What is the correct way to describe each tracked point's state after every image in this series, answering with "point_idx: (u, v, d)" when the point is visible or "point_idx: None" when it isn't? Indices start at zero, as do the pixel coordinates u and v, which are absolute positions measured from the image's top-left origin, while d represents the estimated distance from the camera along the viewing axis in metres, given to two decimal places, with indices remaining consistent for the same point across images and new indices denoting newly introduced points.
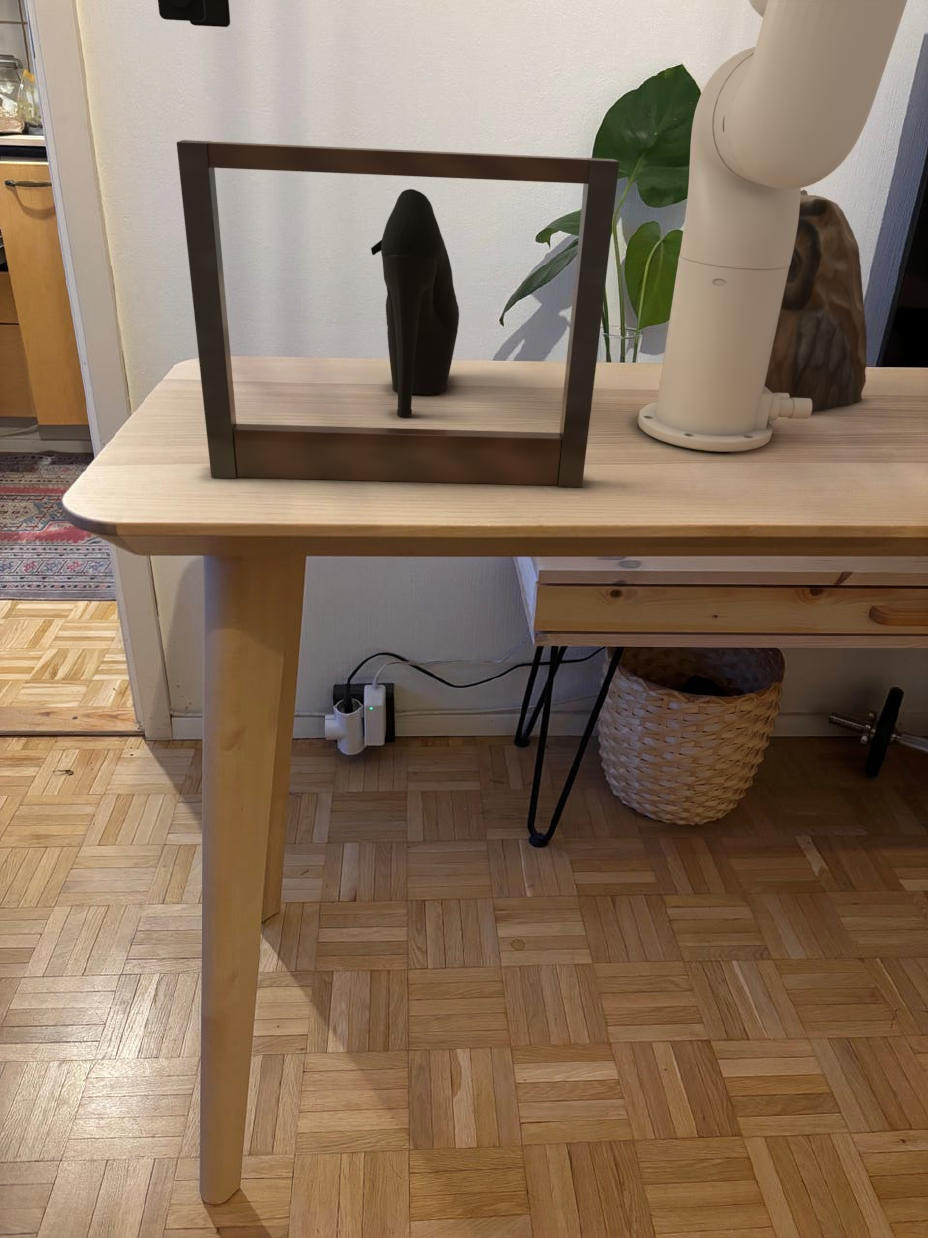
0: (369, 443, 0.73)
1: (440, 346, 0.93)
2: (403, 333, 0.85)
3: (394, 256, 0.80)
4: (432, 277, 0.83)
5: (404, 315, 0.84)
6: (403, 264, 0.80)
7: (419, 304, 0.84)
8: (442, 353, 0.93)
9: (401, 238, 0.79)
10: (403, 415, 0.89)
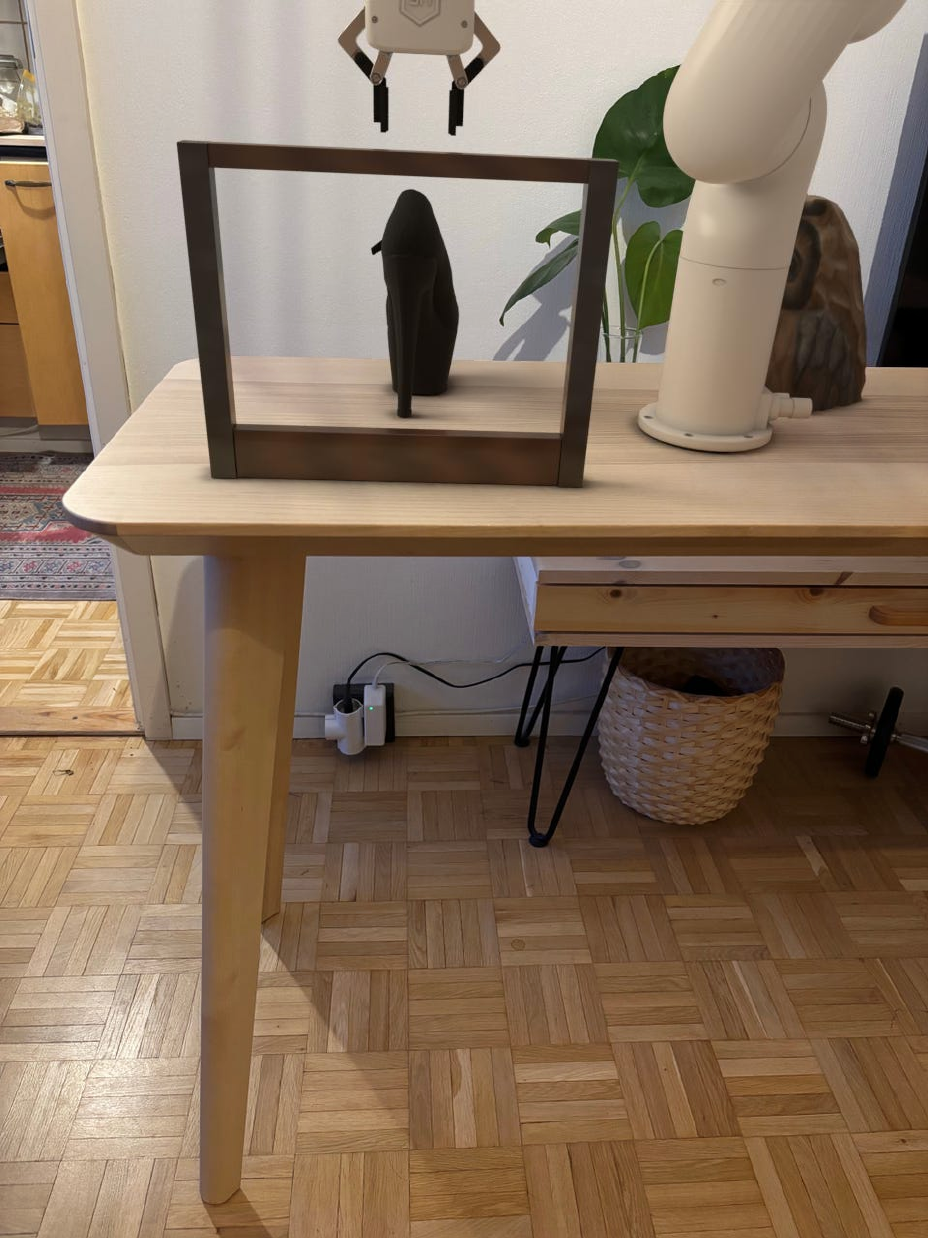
0: (369, 443, 0.73)
1: (440, 346, 0.93)
2: (403, 333, 0.85)
3: (394, 256, 0.80)
4: (432, 277, 0.83)
5: (404, 315, 0.84)
6: (403, 264, 0.80)
7: (419, 304, 0.84)
8: (442, 353, 0.93)
9: (401, 238, 0.79)
10: (403, 415, 0.89)
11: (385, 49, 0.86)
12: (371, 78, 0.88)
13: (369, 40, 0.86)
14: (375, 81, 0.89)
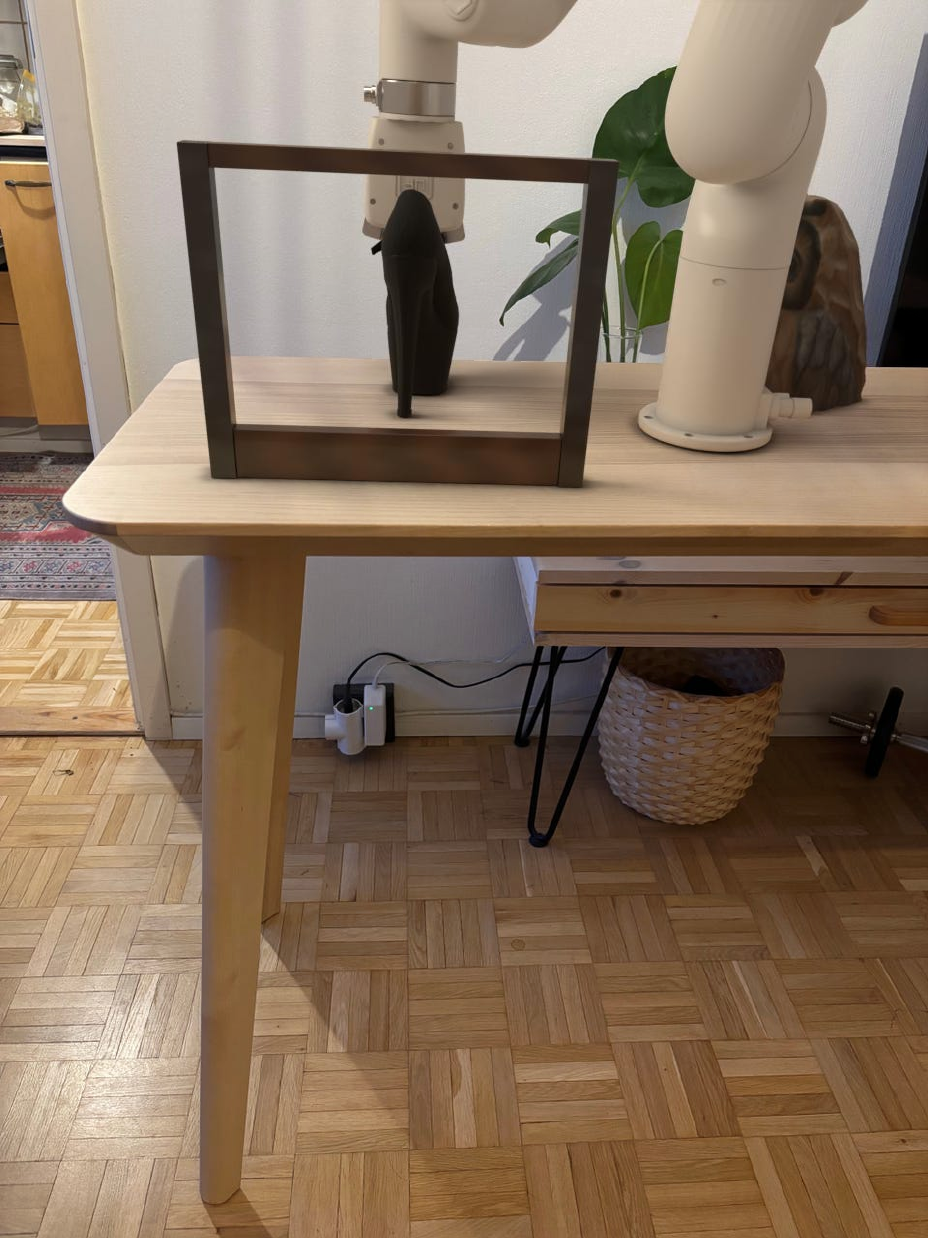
0: (369, 443, 0.73)
1: (440, 346, 0.93)
2: (403, 333, 0.85)
3: (394, 256, 0.80)
4: (432, 277, 0.83)
5: (404, 315, 0.84)
6: (403, 264, 0.80)
7: (419, 304, 0.84)
8: (442, 353, 0.93)
9: (401, 238, 0.79)
10: (403, 415, 0.89)
11: (382, 226, 0.94)
12: None
13: (367, 218, 0.93)
14: None
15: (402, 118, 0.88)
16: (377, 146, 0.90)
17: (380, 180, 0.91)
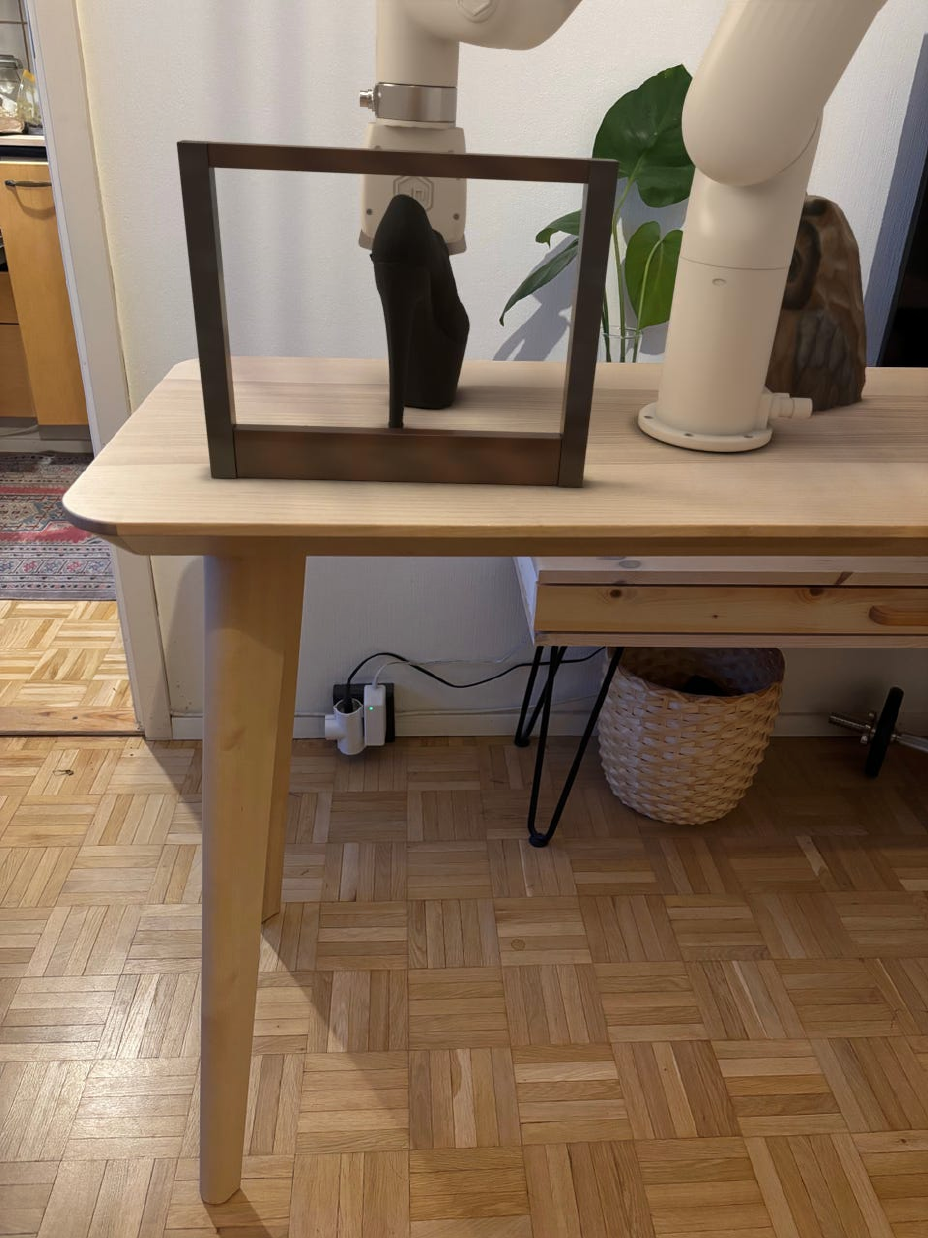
0: (369, 443, 0.73)
1: (442, 358, 0.89)
2: (393, 344, 0.81)
3: (381, 264, 0.77)
4: (424, 287, 0.79)
5: (393, 325, 0.80)
6: (390, 272, 0.77)
7: (410, 314, 0.80)
8: (445, 366, 0.89)
9: (387, 245, 0.75)
10: None
11: None
12: None
13: (363, 229, 0.88)
14: None
15: (400, 124, 0.83)
16: None
17: (377, 189, 0.86)
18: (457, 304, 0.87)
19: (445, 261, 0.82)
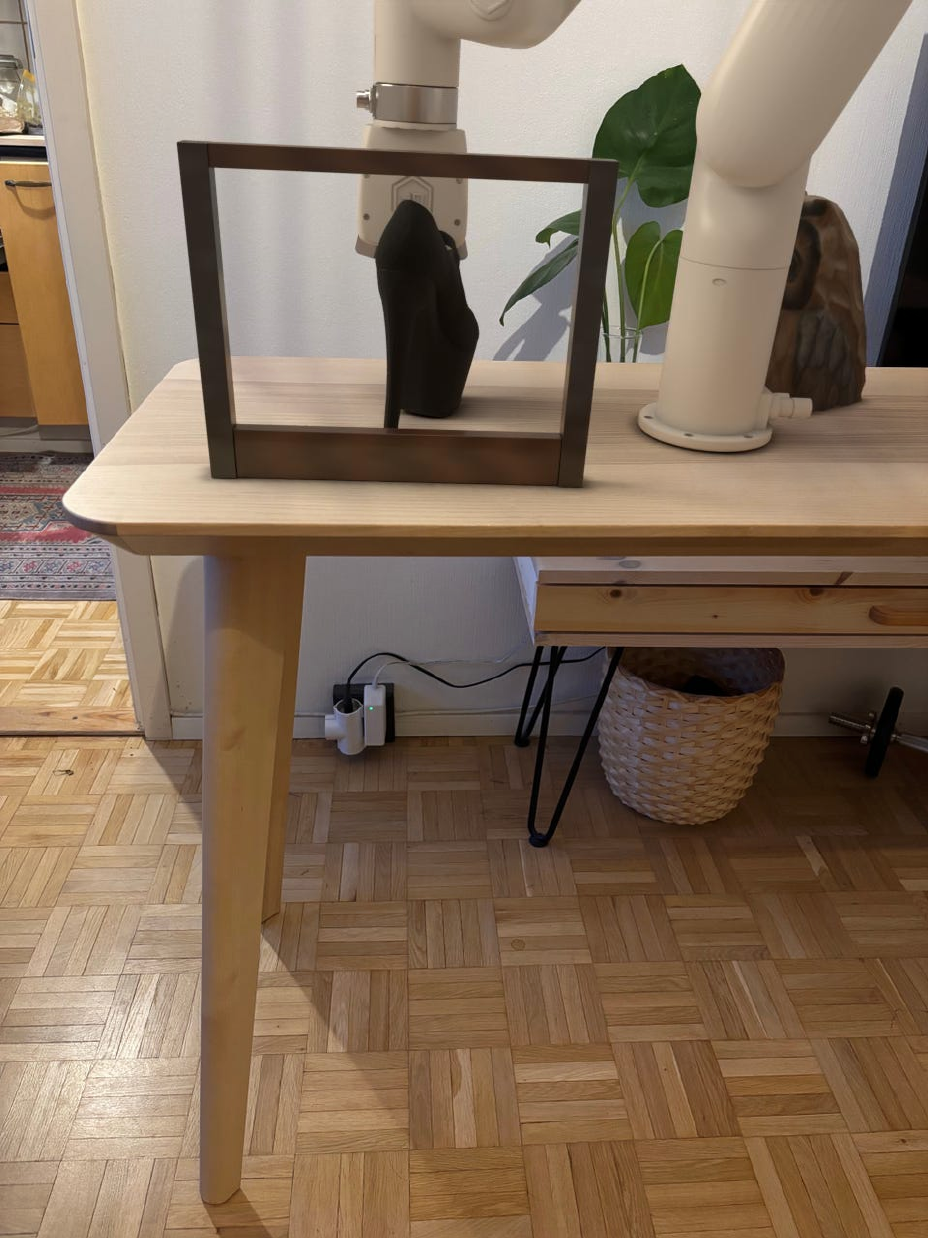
0: (369, 443, 0.73)
1: (446, 367, 0.86)
2: (391, 352, 0.79)
3: (383, 270, 0.74)
4: (427, 296, 0.77)
5: (392, 333, 0.78)
6: (391, 280, 0.74)
7: (411, 323, 0.78)
8: (448, 375, 0.87)
9: (389, 252, 0.73)
10: None
11: (377, 244, 0.85)
12: None
13: (360, 235, 0.85)
14: None
15: (398, 126, 0.80)
16: None
17: (374, 194, 0.83)
18: (465, 313, 0.84)
19: (453, 270, 0.79)
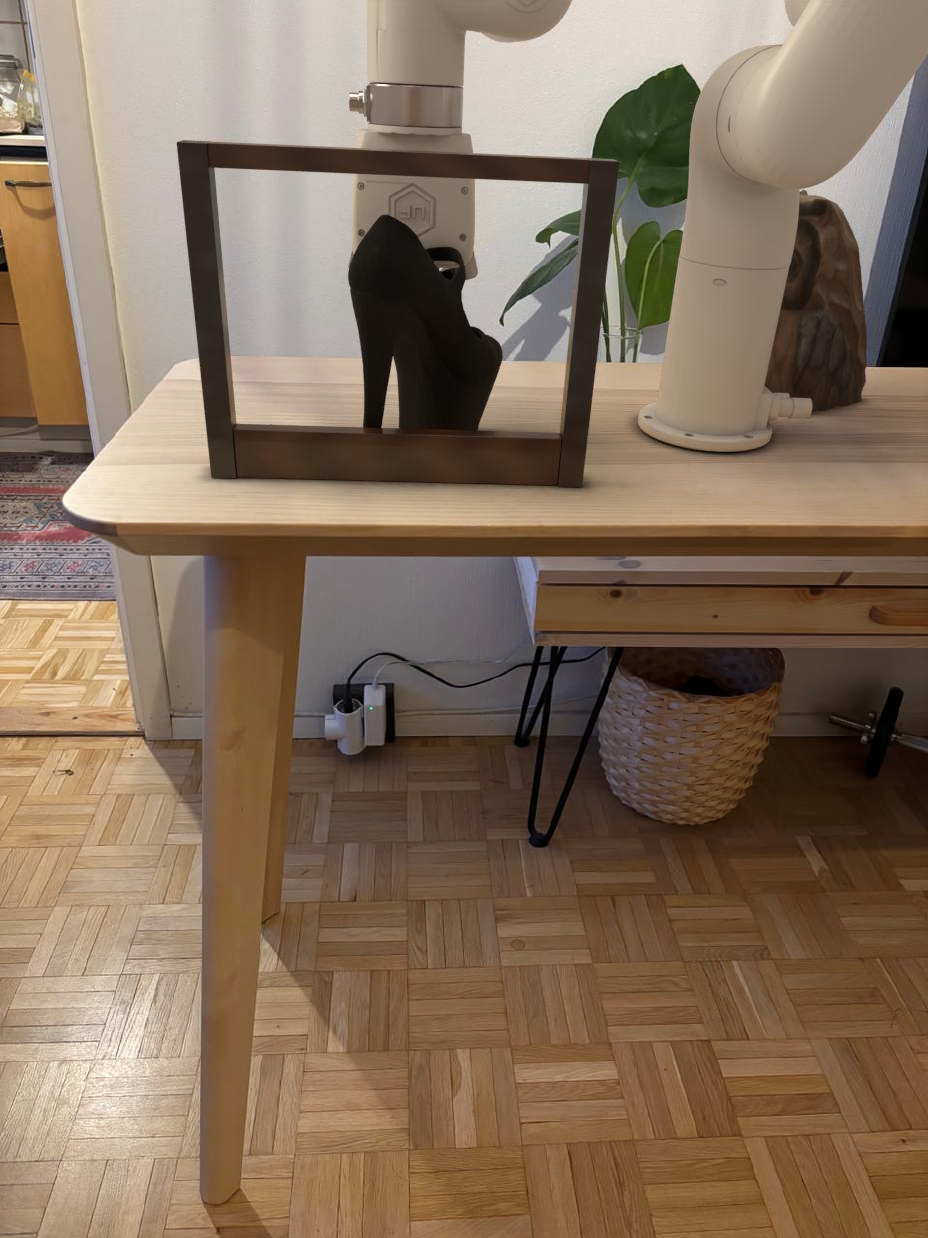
0: (369, 443, 0.73)
1: (445, 399, 0.78)
2: (365, 379, 0.72)
3: (352, 290, 0.67)
4: (403, 322, 0.69)
5: (366, 359, 0.70)
6: (360, 302, 0.67)
7: (388, 350, 0.70)
8: (449, 408, 0.78)
9: (356, 272, 0.66)
10: None
11: None
12: None
13: None
14: None
15: (395, 131, 0.71)
16: None
17: (370, 207, 0.74)
18: (468, 342, 0.75)
19: (444, 295, 0.70)
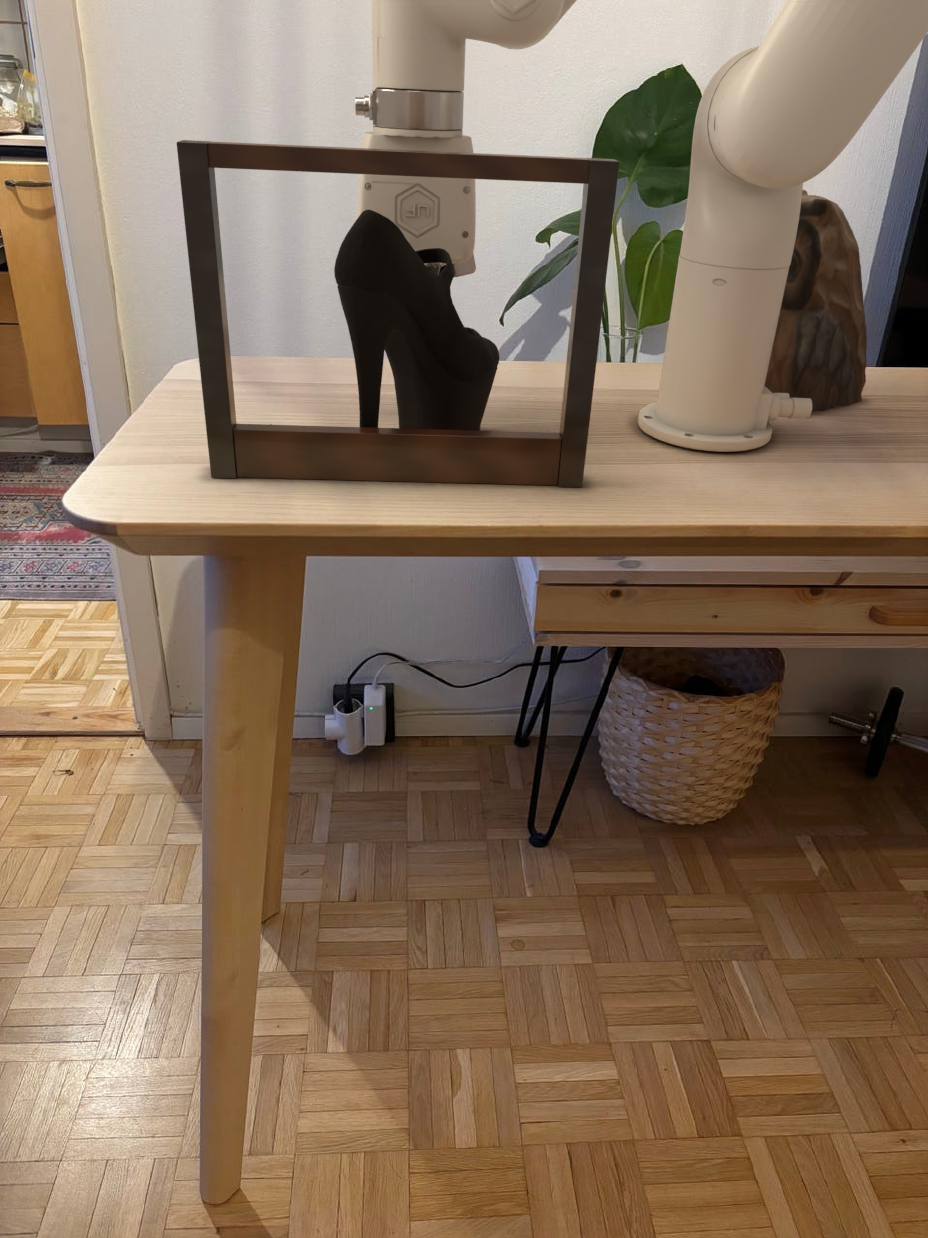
0: (369, 443, 0.73)
1: (442, 398, 0.78)
2: (358, 376, 0.72)
3: (339, 286, 0.68)
4: (391, 315, 0.69)
5: (357, 356, 0.71)
6: (346, 296, 0.68)
7: (379, 345, 0.71)
8: (446, 406, 0.79)
9: (341, 266, 0.67)
10: None
11: None
12: None
13: None
14: None
15: (402, 134, 0.74)
16: None
17: (377, 206, 0.78)
18: (460, 338, 0.76)
19: (432, 288, 0.71)
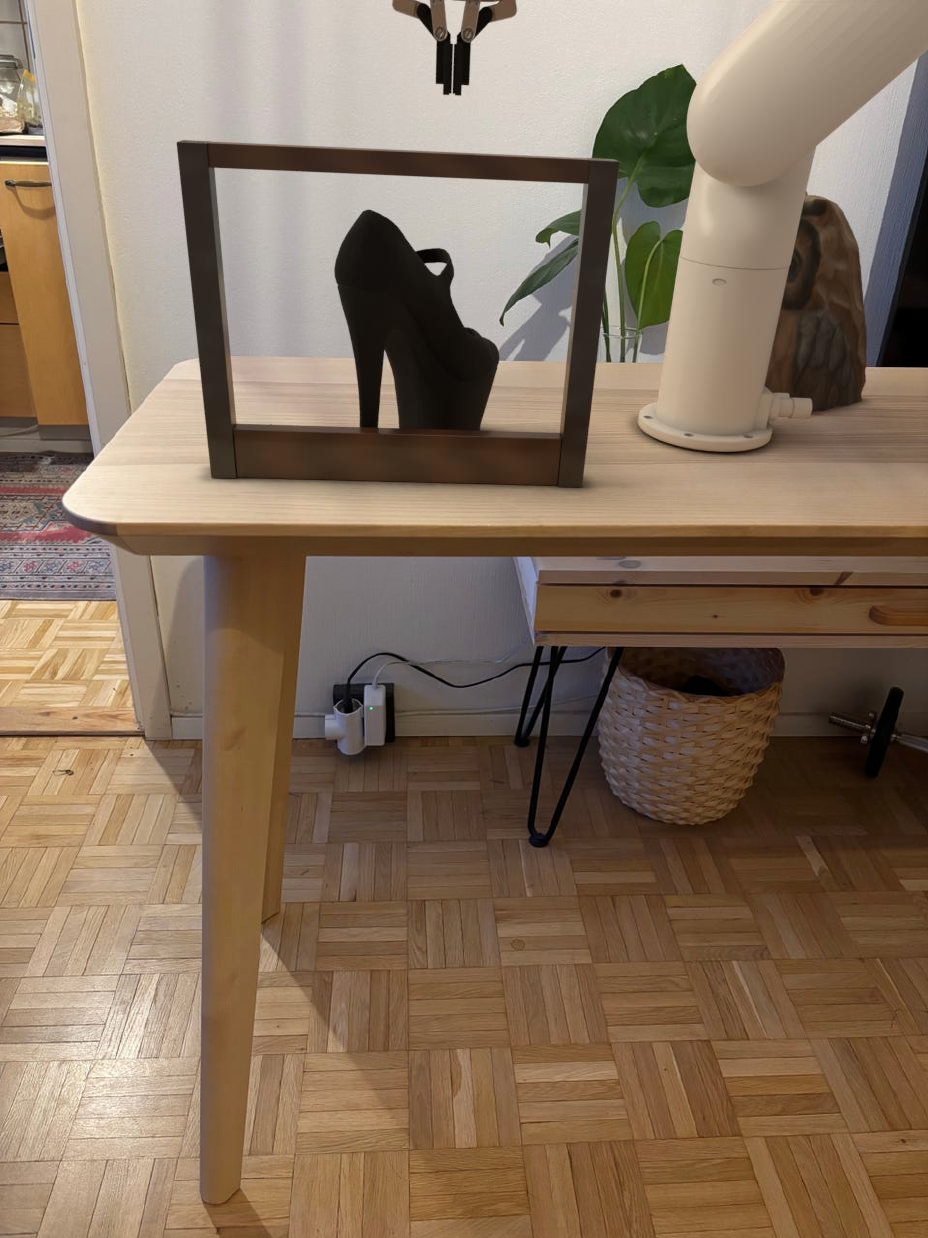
0: (369, 443, 0.73)
1: (442, 398, 0.78)
2: (358, 376, 0.72)
3: (339, 286, 0.68)
4: (391, 315, 0.69)
5: (357, 356, 0.71)
6: (347, 296, 0.68)
7: (379, 345, 0.71)
8: (446, 406, 0.79)
9: (341, 266, 0.67)
10: None
11: None
12: (435, 33, 0.79)
13: None
14: (441, 36, 0.79)
15: None
16: None
17: None
18: (460, 338, 0.76)
19: (432, 288, 0.71)
